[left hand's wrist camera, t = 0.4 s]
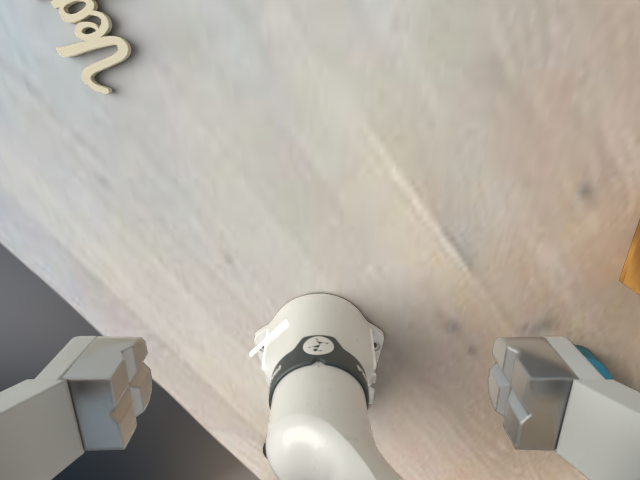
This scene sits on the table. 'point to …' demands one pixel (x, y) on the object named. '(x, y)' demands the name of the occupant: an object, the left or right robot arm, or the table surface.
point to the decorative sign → (92, 40)
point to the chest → (632, 264)
